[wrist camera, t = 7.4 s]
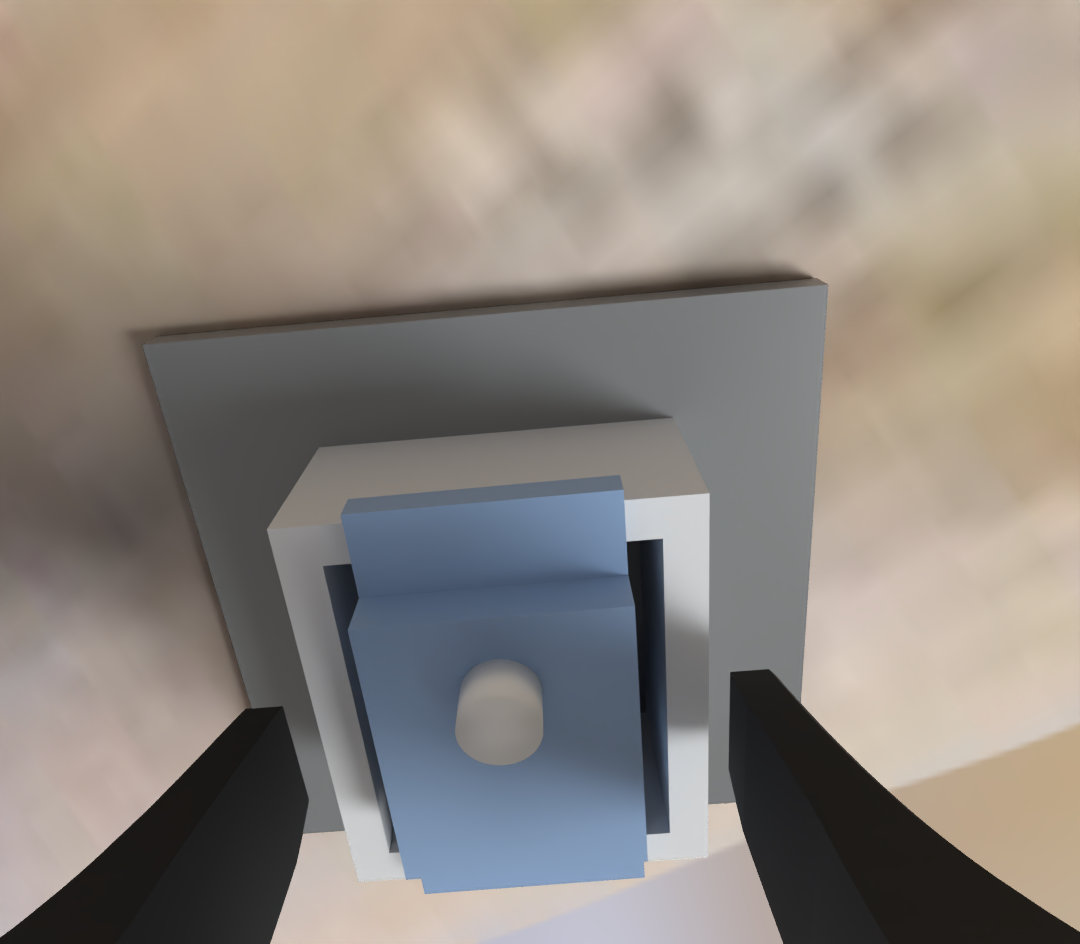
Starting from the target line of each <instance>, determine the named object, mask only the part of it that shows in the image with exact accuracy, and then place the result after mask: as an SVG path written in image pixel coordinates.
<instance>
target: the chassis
mask: <svg viewBox="0 0 1080 944" xmlns="http://www.w3.org/2000/svg"><path fill="white" fill-rule="evenodd" d="M827 295H828V284H826V283H824V282H822V281H821V280H819V279H817V278H813V279H802V280H791V281H779V282H768V283H756V284H745V285H734V286H722V287H711V288H700V289H688V290H677V291H666V292H654V293H643V294H631V295H620V296H609V297H597V298H586V299H575V300H563V301H552V302H541V303H529V304H518V305H507V306H495V307H484V308H472V309H461V310H450V311H438V312H427V313H416V314H404V315H393V316H382V317H370V318H359V319H347V320H336V321H325V322H313V323H302V324H291V325H279V326H268V327H257V328H245V329H234V330H223V331H211V332H200V333H188V334H177V335H166V336H156V337H155V338H153V339H151V340H150V341H148V342H146V343H144V344H143V345H142V347H143V350H144V353H145V356H146V360H147V363H148V366H149V370H150V373H151V376H152V380H153V383H154V386H155V390H156V393H157V396H158V400H159V403H160V406H161V409H162V413H163V416H164V419H165V423H166V426H167V429H168V433H169V436H170V439H171V443H172V446H173V449H174V453H175V456H176V459H177V463H178V466H179V469H180V472H181V476H182V479H183V482H184V486H185V489H186V492H187V496H188V499H189V502H190V506H191V509H192V512H193V516H194V519H195V522H196V525H197V529H198V532H199V535H200V539H201V542H202V545H203V549H204V552H205V555H206V559H207V562H208V565H209V569H210V572H211V575H212V579H213V582H214V585H215V588H216V592H217V595H218V598H219V602H220V605H221V608H222V612H223V615H224V618H225V622H226V625H227V628H228V632H229V635H230V638H231V641H232V645H233V648H234V651H235V655H236V658H237V661H238V665H239V668H240V671H241V675H242V678H243V681H244V685H245V688H246V691H247V695H248V698H249V701H250V704H251V708H265V707H278V706H283V708H284V712H285V715H286V719H287V722H288V726H289V730H290V733H291V737H292V740H293V744H294V747H295V751H296V755H297V758H298V762H299V765H300V769H301V772H302V776H303V780H304V783H305V787H306V790H307V794H308V797H309V804H308V809H307V814H306V820H305V825H304V830H303V834H305V833H319V832H333V831H345V832H346V836H347V839H348V843H349V847H350V851H351V855H352V859H353V862H354V866H355V870H356V874H357V878H358V882H365V881H380V880H394V879H406V877H405V873H404V869H403V865H402V860H401V856H400V852H399V848H398V843H397V839H396V835H395V830H394V826H393V822H392V818H391V813H390V809H389V805H388V801H387V796H386V792H385V788H384V784H383V779H382V775H381V771H380V766H379V762H378V758H377V754H376V749H375V745H374V741H373V737H372V732H371V728H370V724H369V720H368V715H367V711H366V707H365V702H364V698H363V694H362V690H361V685H360V681H359V677H358V673H357V668H356V664H355V660H354V656H353V651H352V647H351V643H350V638H349V634H348V628H349V625H350V622H351V619H352V617H353V614H354V611H355V608H356V605H357V603H358V600H359V596H358V591H357V587H356V582H355V578H354V574H353V569H352V565H351V560H350V556H349V551H348V547H347V542H346V538H345V533H344V529H343V524H342V520H341V513H342V511H343V508H344V506H345V504H346V502H347V500H348V499H355V498H366V497H377V496H388V495H400V494H411V493H422V492H433V491H445V490H456V489H467V488H478V487H489V486H501V485H512V484H523V483H534V482H546V481H557V480H568V479H579V478H590V477H602V476H613V475H620V477H621V481H622V485H623V489H624V505H625V524H626V542H627V561H628V576H629V581H630V586H631V590H632V595H633V599H634V604H635V617H636V636H637V656H638V676H639V696H640V716H641V735H642V755H643V775H644V795H645V815H646V834H647V854H648V861H662V860H676V859H690V858H704V857H708V804H719V803H733V802H736V800H735V795H734V791H733V787H732V782H731V778H730V774H729V769H728V766H729V712H730V672H736V671H749V670H762V669H769V670H771V671H772V672H773V673H774V674H775V675H776V676H777V677H778V678H779V679H780V681H781V682H782V683H783V684H784V685H785V686H786V687H787V688H788V690H789V691H790V692H791V693H792V694H793V695H794V696H795V697H796V699H797V700H798V701H799V702H800V703H801V690H802V675H803V659H804V644H805V629H806V614H807V599H808V584H809V568H810V553H811V538H812V523H813V508H814V493H815V477H816V462H817V447H818V432H819V417H820V402H821V386H822V371H823V356H824V341H825V326H826V311H827ZM648 861H645V862H648Z"/></svg>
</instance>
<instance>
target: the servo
mask: <svg viewBox="0 0 1080 944" xmlns="http://www.w3.org/2000/svg"><path fill="white" fill-rule="evenodd" d="M341 520H342V524H343V529H344V533H345V538H346V542H347V547H348V551H349V556H350V560H351V565H352V569H353V574H354V578H355V582H356V587H357V591H358V596H359V600H358V603H357V605H356V608H355V611H354V614H353V617H352V619H351V622H350V625H349V628H348V634H349V638H350V643H351V647H352V651H353V656H354V660H355V664H356V668H357V673H358V677H359V681H360V685H361V690H362V694H363V698H364V702H365V707H366V711H367V715H368V720H369V724H370V728H371V732H372V737H373V741H374V745H375V749H376V754H377V758H378V762H379V766H380V771H381V775H382V779H383V784H384V788H385V792H386V796H387V801H388V805H389V809H390V813H391V818H392V822H393V826H394V830H395V835H396V839H397V843H398V848H399V852H400V856H401V860H402V865H403V869H404V873H405V877H406V880H408V879H422V884H423V888H424V893H425V894H431V893H445V892H458V891H471V890H484V889H498V888H511V887H524V886H538V885H551V884H564V883H577V882H591V881H604V880H617V879H630V878H644V862H645V861H648V854H647V834H646V815H645V795H644V775H643V755H642V735H641V716H640V696H639V676H638V656H637V636H636V617H635V604H634V599H633V595H632V590H631V586H630V581H629V576H628V561H627V542H626V524H625V505H624V489H623V485H622V481H621V477H620V475H613V476H602V477H590V478H579V479H568V480H557V481H546V482H534V483H523V484H512V485H501V486H489V487H478V488H467V489H456V490H445V491H433V492H422V493H411V494H400V495H388V496H377V497H366V498H355V499H348V500H347V502H346V504H345V506H344V508H343V511H342V513H341Z"/></svg>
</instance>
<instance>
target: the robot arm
mask: <svg viewBox="0 0 1080 944" xmlns="http://www.w3.org/2000/svg"><path fill="white" fill-rule="evenodd" d="M728 769H729V774H730V778H731V782H732V787H733V791H734V795H735V800H736V804H737V808H738V812H739V816H740V820H741V824H742V829H743V832H744V835H745V838H746V841H747V844H748V846H749V849H750V852H751V855H752V858H753V861H754V863H755V866H756V869H757V872H758V875H759V877H760V880H761V883H762V886H763V889H764V891H765V894H766V897H767V900H768V902H769V905H770V908H771V911H772V914H773V916H774V919H775V922H776V925H777V927H778V930H779V933H780V935H781V938H782V941H783V944H1080V932H1079V931H1077V930H1076V929H1074V928H1073V927H1071V926H1069V925H1068V924H1066V923H1064V922H1063V921H1061V920H1060V919H1058V918H1057V917H1055V916H1053V915H1052V914H1050V913H1048V912H1047V911H1046V910H1044V909H1042V908H1041V907H1040V906H1038V905H1037V904H1035V903H1034V902H1032V901H1031V900H1029V899H1028V898H1026V897H1025V896H1023V895H1022V894H1020V893H1019V892H1017V891H1016V890H1014V889H1013V888H1011V887H1010V886H1008V885H1007V884H1005V883H1004V882H1002V881H1001V880H999V879H998V878H996V877H995V876H993V875H992V874H991V873H989V872H988V871H987V870H985V869H984V868H982V867H981V866H980V865H978V864H977V863H975V862H974V861H973V860H971V859H970V858H969V857H967V856H966V855H965V854H963V853H962V852H961V851H960V850H958V849H957V848H956V847H954V846H953V845H952V844H951V843H949V842H948V841H947V840H945V839H944V838H943V837H942V836H940V835H939V834H938V833H937V832H935V831H934V830H933V829H932V828H931V827H929V826H928V825H927V824H926V823H924V822H923V821H922V820H921V819H920V818H919V817H917V816H916V815H915V814H914V813H913V812H911V811H910V810H909V809H908V808H907V807H906V806H905V805H903V804H902V803H901V802H900V801H899V800H898V799H896V797H895V796H893V795H892V794H891V793H890V792H889V791H888V790H887V789H886V788H884V787H883V786H882V785H881V784H880V783H879V782H878V781H877V780H876V779H875V778H874V777H873V776H872V775H870V774H869V773H868V772H867V771H866V770H865V769H864V768H863V767H862V766H861V765H860V764H859V763H858V762H857V761H856V760H855V759H854V758H853V757H852V756H851V755H850V754H849V753H848V752H847V751H846V750H845V749H844V748H843V747H842V746H841V745H840V744H839V743H838V742H837V741H836V740H835V739H834V738H833V737H832V736H831V735H830V734H829V733H828V732H827V731H826V730H825V729H824V728H823V727H822V726H821V725H820V724H819V722H818V721H817V720H816V719H815V718H814V717H813V716H812V715H811V714H810V713H809V712H808V711H807V710H806V709H805V707H804V706H803V705H802V704H801V703H800V702H799V701H798V700H797V699H796V697H795V696H794V695H793V694H792V693H791V692H790V691H789V690H788V688H787V687H786V686H785V685H784V684H783V683H782V682H781V681H780V679H779V678H778V677H777V676H776V675H775V674H774V673H773V672H772V671H771V670H769V669H762V670H749V671H736V672H730V712H729V766H728ZM308 804H309V797H308V794H307V790H306V787H305V783H304V780H303V776H302V772H301V769H300V765H299V762H298V758H297V755H296V751H295V747H294V744H293V740H292V737H291V733H290V730H289V726H288V722H287V719H286V715H285V712H284V708H283V706H278V707H265V708H252V709H245V710H244V711H243V712H242V713H241V714H240V715H239V716H238V717H237V718H236V719H235V720H234V721H233V722H232V723H231V724H230V725H229V726H228V727H227V729H226V730H225V731H224V732H223V733H222V734H221V735H220V736H219V737H218V738H217V739H216V740H215V741H214V742H213V743H212V744H211V745H210V746H209V747H208V748H207V750H206V751H205V752H204V753H203V754H202V755H201V756H200V757H199V758H198V759H197V760H196V761H195V762H194V763H193V764H192V765H191V766H190V767H189V768H188V769H187V770H186V771H185V772H184V773H183V774H182V776H181V777H180V778H179V779H178V780H177V781H176V782H175V783H174V784H173V785H172V786H171V787H170V788H169V789H168V790H167V791H166V792H165V793H164V794H163V795H162V796H161V797H160V798H159V799H158V800H157V801H156V802H155V803H154V804H153V805H152V806H151V807H150V808H149V809H148V810H147V811H146V812H145V813H144V814H143V815H142V816H141V817H140V818H139V819H138V820H136V821H135V822H134V823H133V824H132V825H131V826H130V827H129V828H128V829H127V830H126V831H125V832H124V833H123V834H122V835H121V836H119V837H118V838H117V839H116V840H115V841H114V842H113V843H112V844H111V845H110V846H109V847H108V848H107V849H106V850H105V851H104V852H103V853H101V854H100V855H99V856H98V857H97V858H96V859H95V860H94V861H93V862H92V863H91V864H90V865H88V866H87V867H86V868H85V869H84V870H83V871H82V872H81V873H79V874H78V875H77V876H76V877H75V878H74V879H72V880H71V881H70V882H69V883H68V884H67V885H65V886H64V887H63V888H62V889H61V890H60V891H58V892H57V893H56V894H55V895H53V896H52V897H51V898H50V899H49V900H47V901H46V902H45V903H44V904H42V905H41V906H40V907H39V908H38V909H36V910H35V911H34V912H33V913H31V914H30V915H29V916H28V917H27V918H25V919H24V920H23V921H21V922H20V923H19V924H18V925H16V926H15V927H14V928H13V929H11V930H10V931H9V932H7V933H6V934H4V935H3V936H2V937H0V944H270V942H271V939H272V936H273V933H274V930H275V927H276V924H277V921H278V918H279V915H280V912H281V909H282V906H283V903H284V900H285V897H286V894H287V891H288V888H289V885H290V882H291V879H292V876H293V873H294V869H295V866H296V863H297V858H298V854H299V849H300V845H301V840H302V835H303V830H304V825H305V820H306V814H307V809H308Z"/></svg>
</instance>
